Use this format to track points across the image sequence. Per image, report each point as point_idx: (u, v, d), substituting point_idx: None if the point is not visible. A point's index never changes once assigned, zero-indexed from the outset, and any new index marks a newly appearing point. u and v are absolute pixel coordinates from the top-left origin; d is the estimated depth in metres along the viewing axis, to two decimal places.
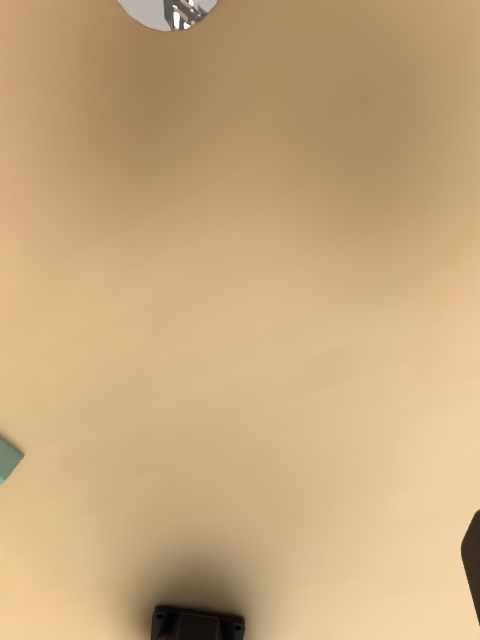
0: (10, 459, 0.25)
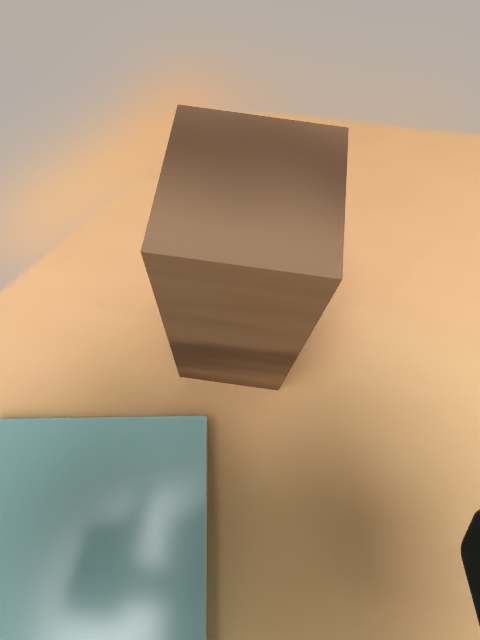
0: None
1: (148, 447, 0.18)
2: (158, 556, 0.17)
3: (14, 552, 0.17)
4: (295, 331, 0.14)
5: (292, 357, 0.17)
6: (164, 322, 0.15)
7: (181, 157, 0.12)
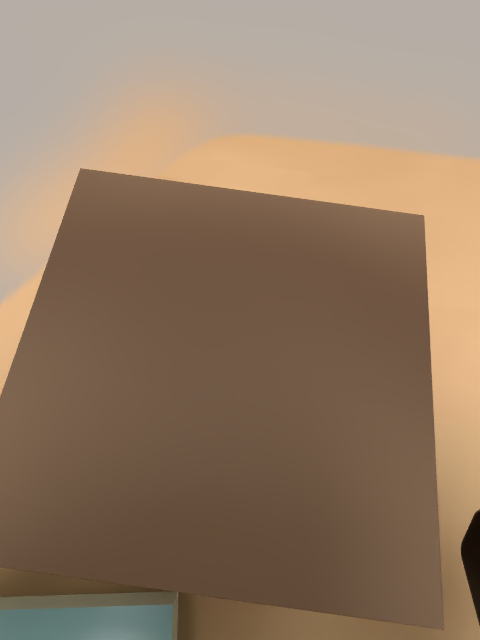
0: None
1: None
2: None
3: None
4: None
5: None
6: None
7: (76, 290, 0.05)
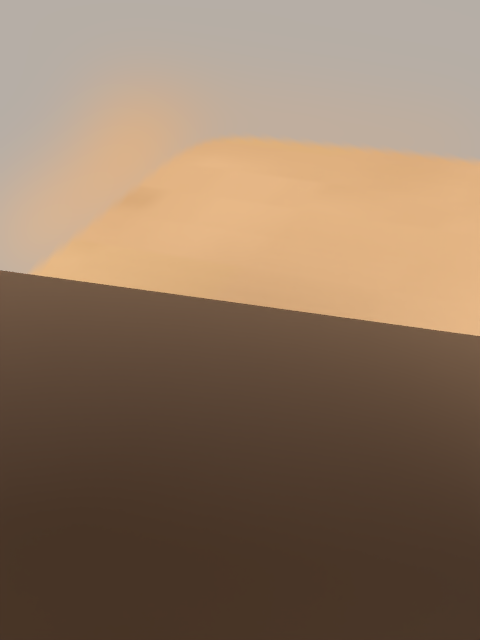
0: None
1: None
2: None
3: None
4: None
5: None
6: None
7: None
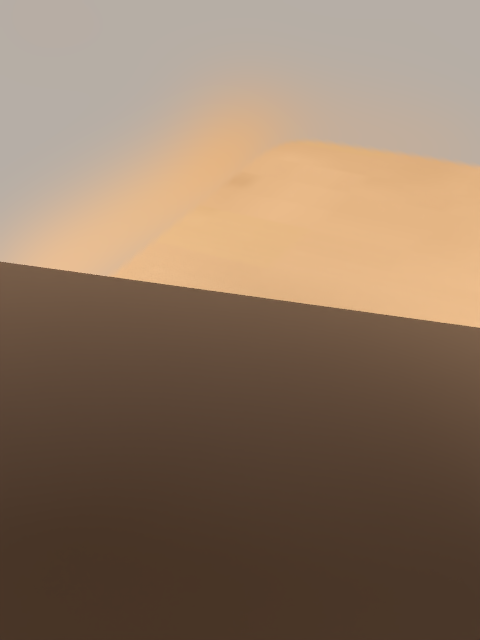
0: None
1: None
2: None
3: None
4: None
5: None
6: None
7: None
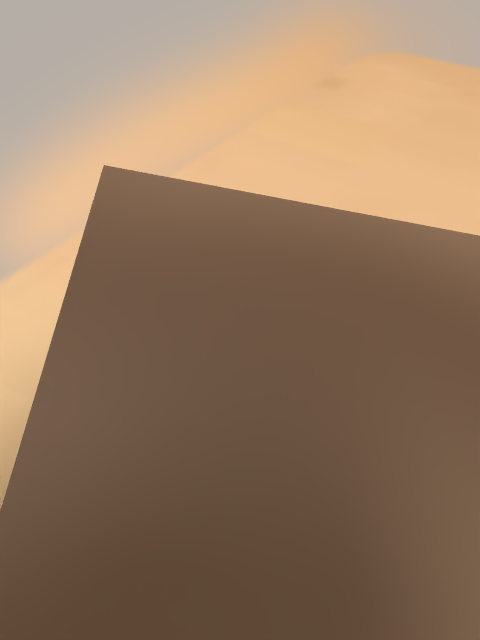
0: None
1: None
2: None
3: None
4: None
5: None
6: None
7: (105, 330, 0.04)
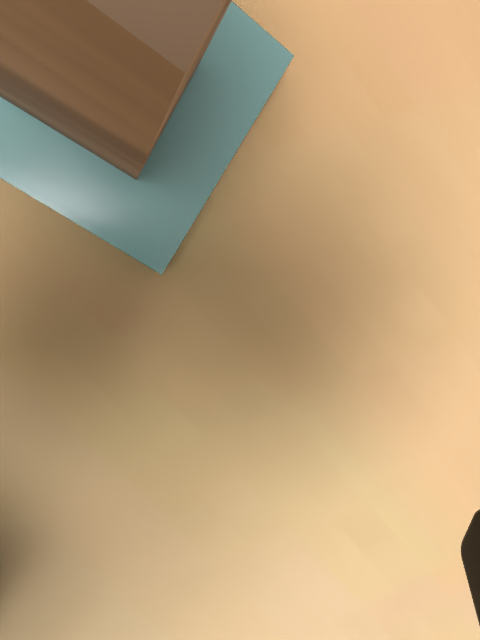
0: None
1: (224, 41, 0.16)
2: (181, 146, 0.16)
3: None
4: (132, 122, 0.08)
5: (140, 154, 0.11)
6: None
7: None
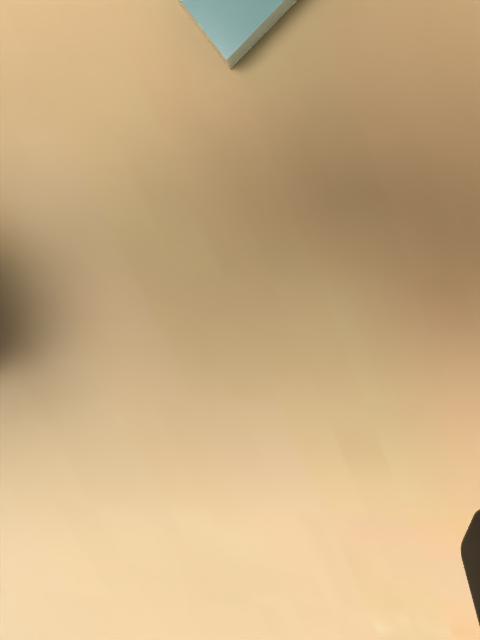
0: (240, 55, 0.16)
1: None
2: None
3: None
4: None
5: None
6: None
7: None
